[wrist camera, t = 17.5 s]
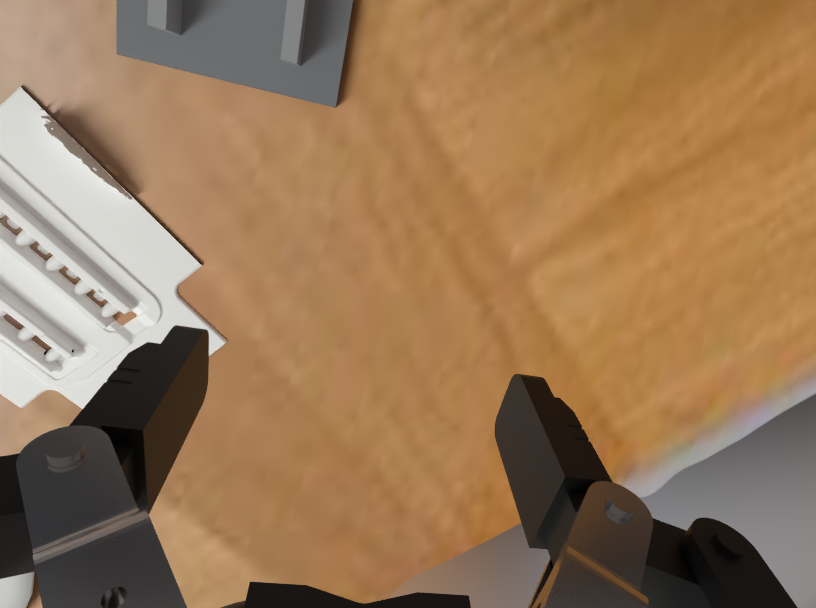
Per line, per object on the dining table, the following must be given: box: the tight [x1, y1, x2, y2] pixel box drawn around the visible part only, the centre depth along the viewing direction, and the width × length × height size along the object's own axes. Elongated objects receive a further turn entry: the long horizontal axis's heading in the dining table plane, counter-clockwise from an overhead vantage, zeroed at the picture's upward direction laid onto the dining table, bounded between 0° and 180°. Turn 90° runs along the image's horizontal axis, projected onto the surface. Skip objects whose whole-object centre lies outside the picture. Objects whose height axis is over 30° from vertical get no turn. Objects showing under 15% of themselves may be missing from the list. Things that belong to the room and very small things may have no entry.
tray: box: [0, 86, 227, 409], centre depth 35 cm, size 20×28×4 cm
